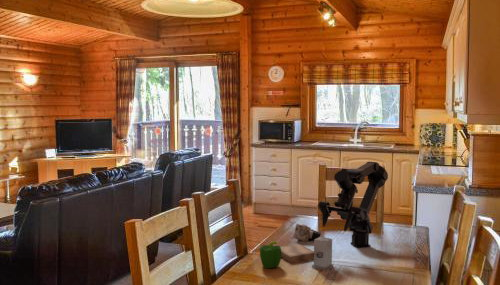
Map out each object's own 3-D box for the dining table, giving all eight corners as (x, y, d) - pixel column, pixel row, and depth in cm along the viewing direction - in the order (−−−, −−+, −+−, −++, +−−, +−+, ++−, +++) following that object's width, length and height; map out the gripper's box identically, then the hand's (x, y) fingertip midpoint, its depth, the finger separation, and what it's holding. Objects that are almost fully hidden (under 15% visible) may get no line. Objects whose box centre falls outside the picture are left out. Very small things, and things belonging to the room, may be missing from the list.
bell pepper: (255, 267, 188) (255, 242, 187) (266, 261, 195) (266, 236, 194) (273, 272, 184) (274, 246, 182) (285, 265, 190) (285, 240, 189)
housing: (319, 263, 193) (320, 236, 192) (333, 266, 189) (334, 238, 188) (312, 267, 188) (312, 239, 187) (325, 271, 184) (326, 242, 183)
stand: (300, 249, 209) (300, 243, 209) (315, 258, 198) (315, 252, 198) (275, 253, 204) (275, 247, 204) (289, 262, 193) (289, 256, 193)
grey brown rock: (319, 242, 229) (317, 245, 219) (295, 235, 231) (292, 238, 222) (322, 228, 229) (320, 230, 219) (299, 221, 231) (296, 223, 222)
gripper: (373, 209, 201) (361, 243, 194) (332, 202, 212) (319, 234, 205) (366, 194, 194) (353, 228, 187) (324, 188, 205) (310, 220, 198)
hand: (333, 228), depth 194 cm, fingers open, 9 cm apart
